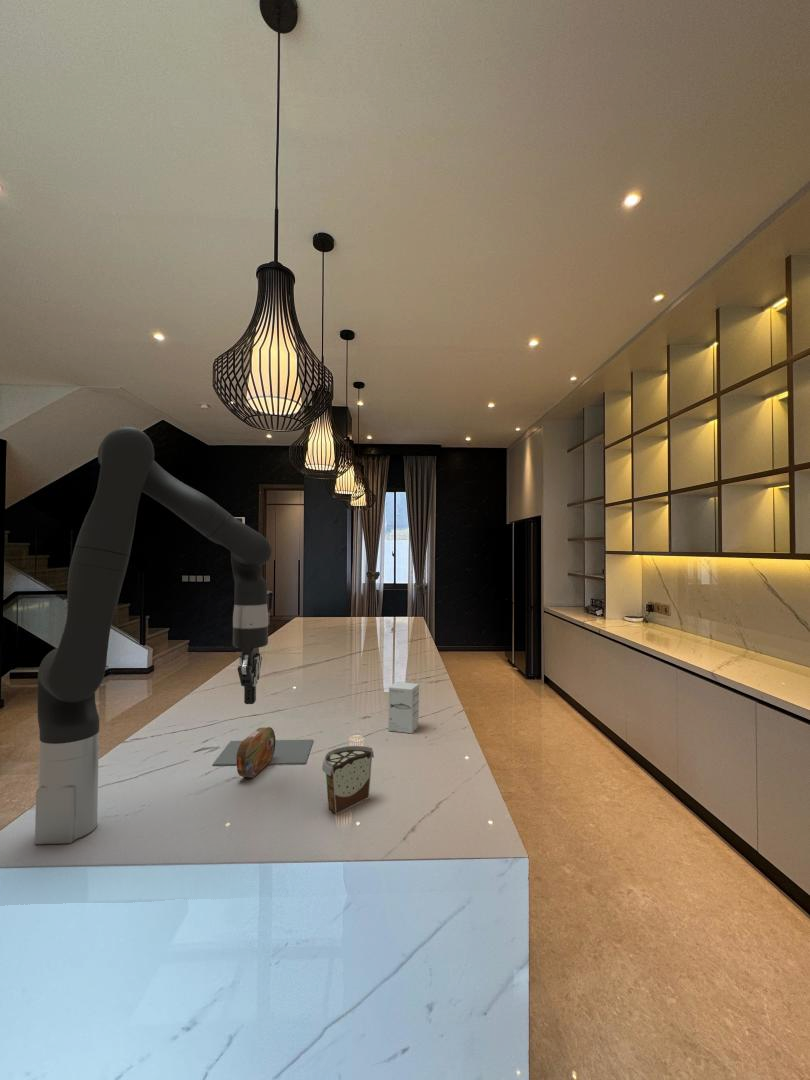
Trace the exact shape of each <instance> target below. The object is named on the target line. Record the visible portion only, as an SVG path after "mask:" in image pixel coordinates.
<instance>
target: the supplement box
mask: <svg viewBox="0 0 810 1080" xmlns="http://www.w3.org/2000/svg"><path fill="white" fill-rule="evenodd" d="M419 700H420V683H411V682H400V681H395V682H393V683H392V685H390V686H389V687H388V721H387V722H388V723H387V724H388V727H387V728H388V729H387V730H388V732H399V733H407V734H408V733H409V734H413V733H414V732H415V731H414V730H417V729H418V728H419V717H420V714H419V712H420V711H419V710H420V709H419V708H420V707H419V706H420V704H419V703H420V701H419Z"/></svg>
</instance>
